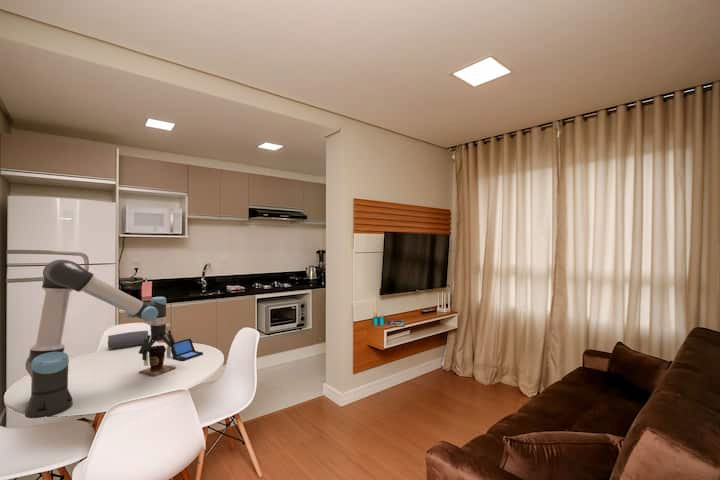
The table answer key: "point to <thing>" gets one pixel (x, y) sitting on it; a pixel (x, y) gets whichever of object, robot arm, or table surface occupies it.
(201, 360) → the table surface
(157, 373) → the walnut board
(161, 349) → the coffee cup
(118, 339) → the bluetooth speaker
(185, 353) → the handheld game console
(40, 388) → the robot arm
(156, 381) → the table surface
